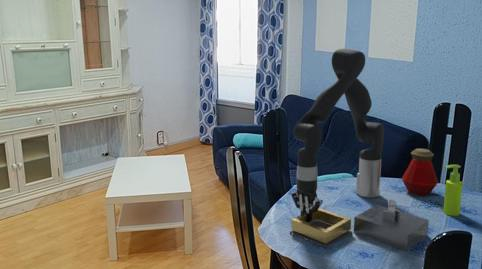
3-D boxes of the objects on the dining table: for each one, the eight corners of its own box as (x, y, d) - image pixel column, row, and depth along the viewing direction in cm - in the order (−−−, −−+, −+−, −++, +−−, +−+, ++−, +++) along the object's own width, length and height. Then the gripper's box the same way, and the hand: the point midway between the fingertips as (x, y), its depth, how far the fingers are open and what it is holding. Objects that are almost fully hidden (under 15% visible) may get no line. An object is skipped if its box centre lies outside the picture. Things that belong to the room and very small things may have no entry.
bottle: (394, 191, 192) (397, 149, 188) (411, 185, 200) (414, 144, 196) (426, 201, 180) (430, 156, 176) (443, 194, 188) (447, 151, 184)
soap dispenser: (437, 210, 170) (442, 163, 166) (454, 209, 170) (458, 162, 166) (446, 216, 164) (450, 167, 160) (462, 215, 165) (467, 167, 160)
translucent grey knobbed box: (353, 232, 152) (355, 198, 149) (376, 219, 163) (377, 187, 160) (406, 251, 138) (409, 214, 135) (427, 235, 149) (430, 201, 146)
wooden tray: (291, 229, 152) (291, 219, 151) (316, 217, 162) (316, 207, 161) (326, 243, 141) (326, 232, 140) (350, 229, 151) (351, 218, 150)
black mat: (289, 233, 152) (289, 231, 152) (316, 220, 163) (316, 218, 163) (326, 248, 141) (326, 246, 141) (352, 233, 151) (352, 231, 151)
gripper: (286, 175, 155) (285, 218, 159) (316, 183, 145) (315, 229, 149) (298, 170, 160) (298, 212, 164) (328, 178, 150) (327, 223, 154)
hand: (306, 220), depth 156 cm, fingers closed on wooden tray
